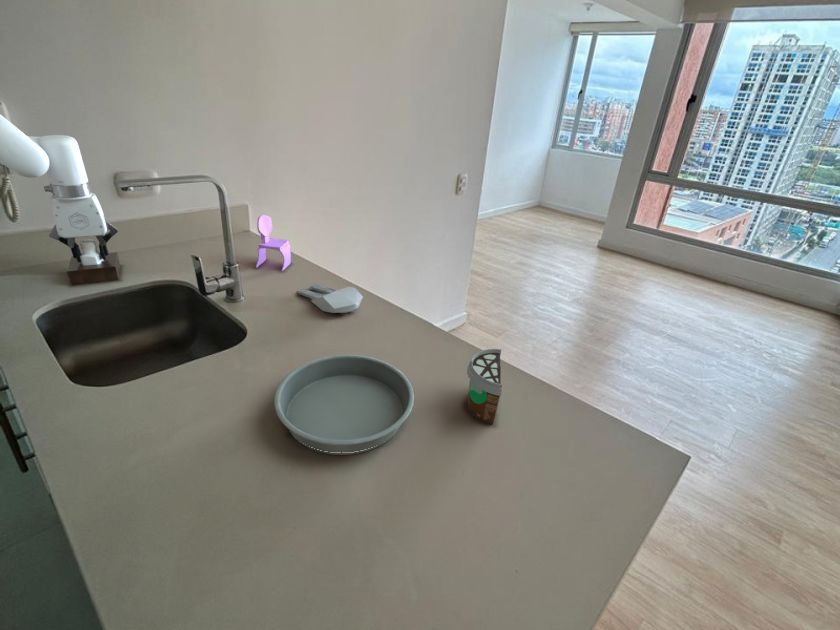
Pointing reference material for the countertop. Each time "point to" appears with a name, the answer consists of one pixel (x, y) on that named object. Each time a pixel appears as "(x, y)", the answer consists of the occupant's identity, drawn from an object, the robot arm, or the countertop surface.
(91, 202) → the robot arm
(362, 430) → the cake pan
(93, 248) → the pepper shaker
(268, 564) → the countertop surface
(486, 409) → the food container
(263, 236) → the toy chair
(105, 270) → the holder
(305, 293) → the turret
